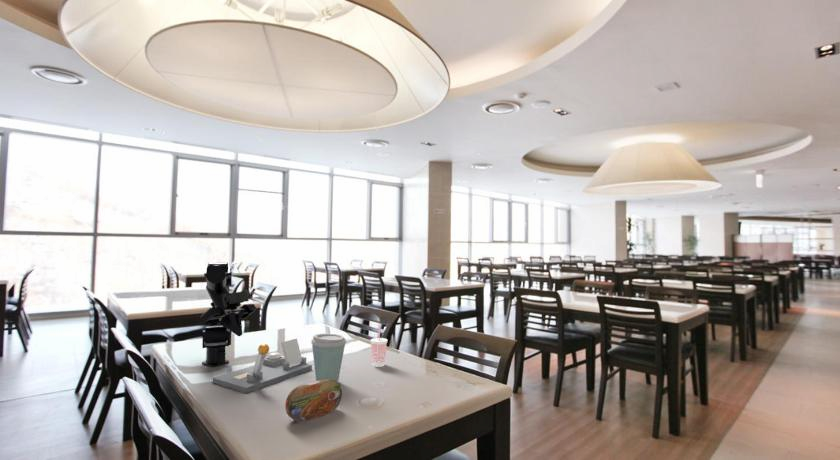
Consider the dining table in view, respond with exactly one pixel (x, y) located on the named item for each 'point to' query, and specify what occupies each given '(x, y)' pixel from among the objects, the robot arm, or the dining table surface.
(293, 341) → the grey paddle
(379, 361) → the beverage cup
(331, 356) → the disposable coffee cup
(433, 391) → the dining table surface
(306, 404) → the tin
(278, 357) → the cream push button
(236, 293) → the robot arm
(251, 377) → the switch panel
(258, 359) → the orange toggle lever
